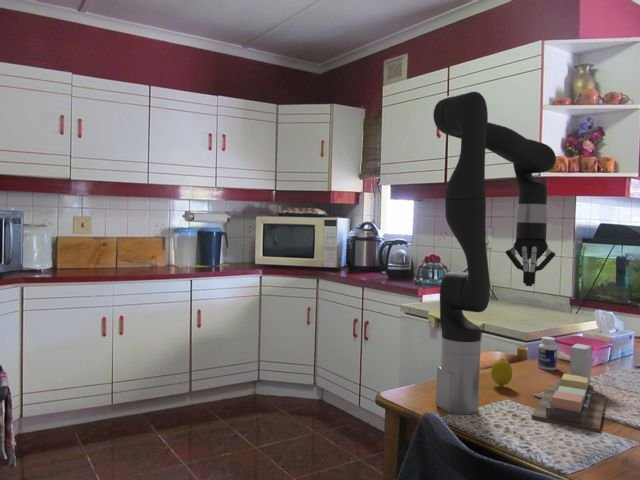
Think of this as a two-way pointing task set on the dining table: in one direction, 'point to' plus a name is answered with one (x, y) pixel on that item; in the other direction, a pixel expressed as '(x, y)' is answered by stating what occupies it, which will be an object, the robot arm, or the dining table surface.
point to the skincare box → (580, 361)
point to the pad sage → (573, 391)
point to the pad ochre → (575, 381)
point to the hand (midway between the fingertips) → (529, 285)
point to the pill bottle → (547, 354)
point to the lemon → (501, 372)
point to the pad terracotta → (567, 401)
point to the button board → (583, 420)
